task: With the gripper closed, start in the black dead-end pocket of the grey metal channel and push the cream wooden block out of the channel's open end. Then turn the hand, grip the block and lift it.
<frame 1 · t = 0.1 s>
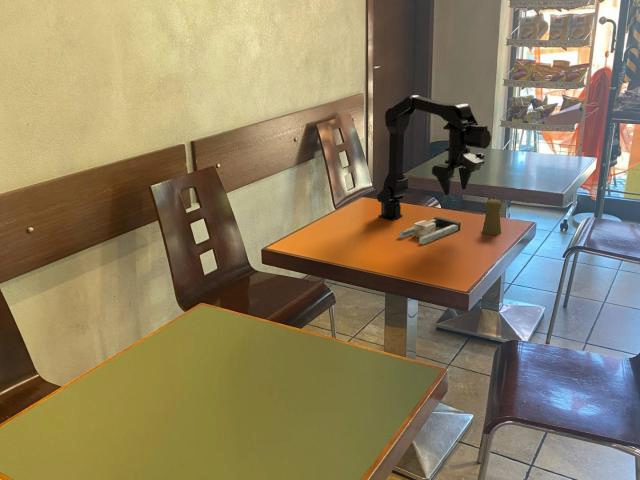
hand: (455, 192, 202), 14 cm above the table, tool pointing down, fingers open, 9 cm apart
olive tapered tower: (491, 232, 207), on the table
cream block: (424, 236, 206), resting in trap channel
trap channel: (430, 233, 208), on the table
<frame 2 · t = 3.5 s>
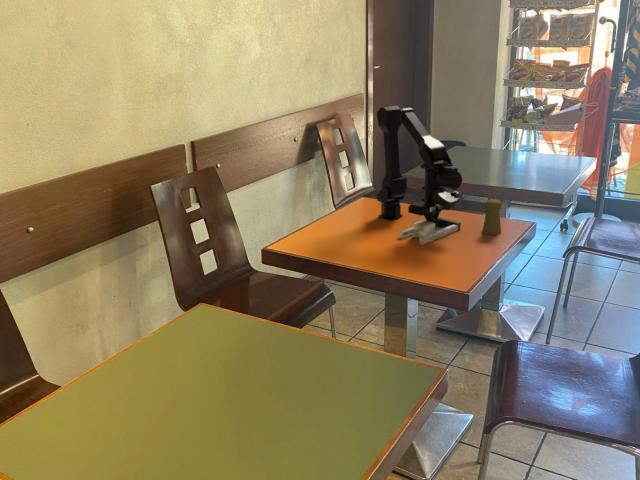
hand: (432, 228, 208), 2 cm above the table, tool pointing down, fingers closed
cream block: (423, 236, 206), resting in trap channel, touching gripper
everything else where it was.
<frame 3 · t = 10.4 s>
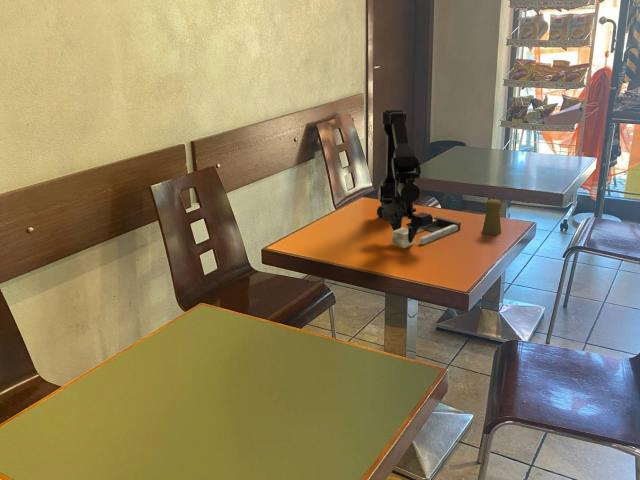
hand: (403, 240, 199), 1 cm above the table, tool pointing down, fingers closed on cream block, 5 cm apart
cream block: (403, 244, 199), on the table, touching gripper
everything else where it was.
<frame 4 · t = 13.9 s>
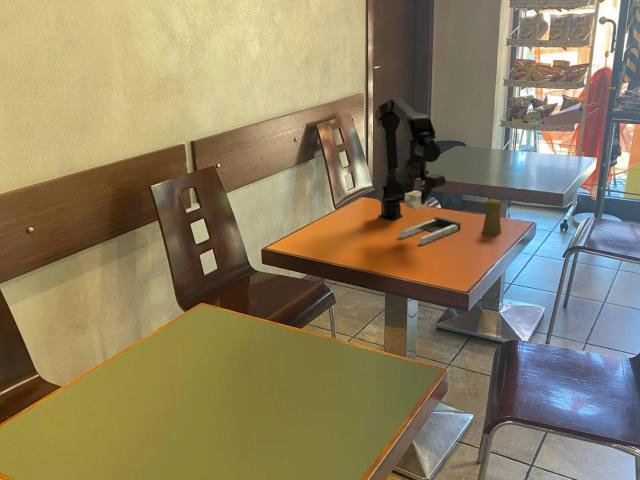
hand: (416, 202, 202), 11 cm above the table, tool pointing down, fingers closed on cream block, 5 cm apart
cream block: (415, 206, 202), point 10 cm above the table, touching gripper
everything else where it was.
at the end: the gripper is holding cream block; cream block point 10.2 cm above the table; cream block tilted 0° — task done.
